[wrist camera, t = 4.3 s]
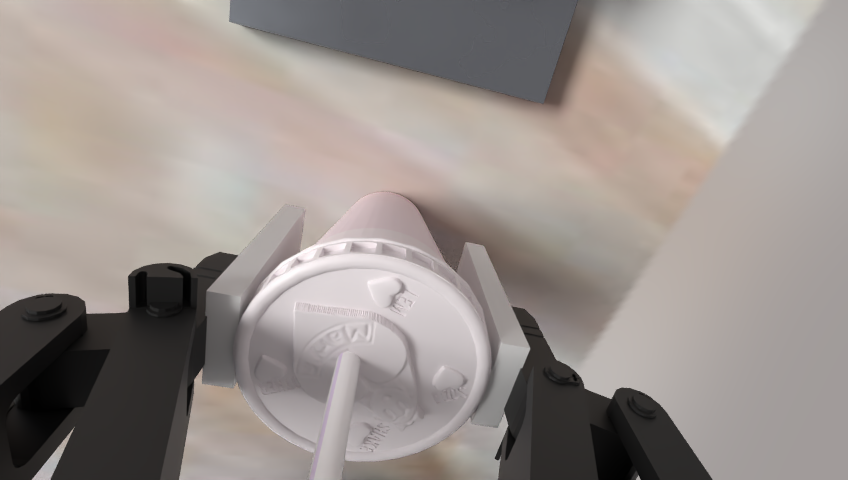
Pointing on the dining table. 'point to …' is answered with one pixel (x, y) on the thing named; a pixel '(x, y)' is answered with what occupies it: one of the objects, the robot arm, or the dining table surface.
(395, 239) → the smoothie
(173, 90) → the dining table surface
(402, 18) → the collar
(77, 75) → the dining table surface
